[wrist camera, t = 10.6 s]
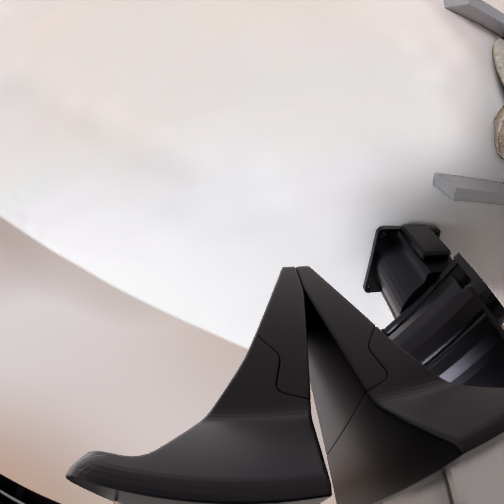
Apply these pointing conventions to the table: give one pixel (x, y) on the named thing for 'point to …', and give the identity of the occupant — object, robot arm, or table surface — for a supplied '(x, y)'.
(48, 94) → the table surface
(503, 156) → the fossilized seashell
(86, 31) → the table surface
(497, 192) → the box
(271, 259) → the table surface
